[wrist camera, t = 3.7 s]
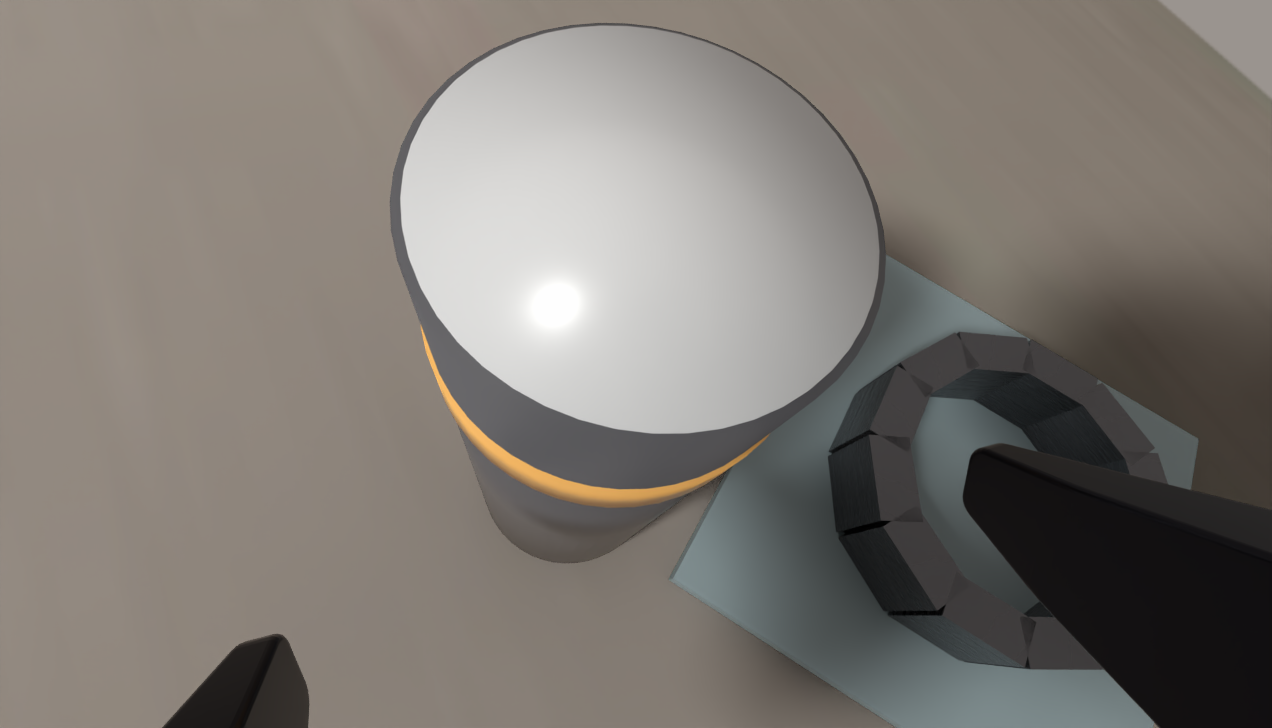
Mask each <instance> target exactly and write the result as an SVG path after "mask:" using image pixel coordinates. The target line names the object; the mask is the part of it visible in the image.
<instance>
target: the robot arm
mask: <svg viewBox="0 0 1272 728" xmlns="http://www.w3.org/2000/svg"><path fill="white" fill-rule="evenodd" d="M962 498H963V503H964V507H965V509H966V510H967V512H968V514H969V515H970V516H971V518H972V519H973V520H974V521H975V522H976V524H977V525H978V526H979V527H980V529H981V530H982V531H983V532H984V534H985V535H986V536H987V537H988V539H989V540H990V541H991V542H992V544H993V545H994V546H995V547H996V548H997V550H998V551H999V552H1000V553H1001V555H1002V556H1003V557H1004V558H1005V560H1006V561H1007V562H1008V563H1009V565H1010V566H1011V567H1012V568H1013V570H1014V571H1015V572H1016V573H1017V575H1018V576H1019V577H1020V578H1021V579H1022V581H1023V582H1024V583H1025V584H1026V586H1027V587H1028V588H1029V589H1030V590H1031V592H1032V593H1033V594H1034V595H1035V596H1036V598H1037V599H1038V600H1039V601H1040V602H1041V603H1042V605H1043V606H1044V607H1045V608H1046V609H1047V610H1048V611H1049V612H1050V613H1051V614H1052V615H1053V617H1054V618H1055V619H1056V620H1057V621H1058V622H1059V623H1060V624H1061V625H1062V626H1063V627H1064V628H1065V629H1066V630H1067V631H1068V632H1069V633H1070V634H1071V635H1072V637H1073V638H1074V639H1075V640H1076V641H1077V642H1078V643H1079V644H1080V645H1081V646H1082V647H1083V648H1084V649H1085V650H1086V651H1087V652H1088V653H1089V654H1090V655H1091V657H1092V658H1093V659H1094V660H1095V661H1096V662H1097V663H1098V664H1099V665H1100V666H1101V667H1102V668H1103V669H1104V670H1105V671H1106V672H1107V673H1108V674H1109V675H1110V676H1111V678H1112V679H1113V680H1114V681H1115V682H1116V683H1117V684H1118V685H1119V686H1120V687H1121V688H1122V689H1123V690H1124V691H1125V692H1126V693H1127V694H1128V695H1129V696H1130V697H1131V699H1132V700H1133V701H1134V702H1135V703H1136V704H1137V705H1138V706H1139V707H1140V708H1141V709H1142V710H1143V711H1144V712H1145V713H1146V714H1147V715H1148V716H1149V717H1150V718H1151V720H1152V721H1153V722H1154V723H1155V724H1156V725H1157V726H1158V727H1159V728H1272V510H1269V509H1265V508H1261V507H1257V506H1253V505H1249V504H1245V503H1241V502H1237V501H1233V500H1229V499H1225V498H1221V497H1217V496H1213V495H1209V494H1205V493H1201V492H1197V491H1193V490H1189V489H1185V488H1181V487H1177V486H1173V485H1169V484H1165V483H1161V482H1157V481H1153V480H1149V479H1145V478H1141V477H1137V476H1133V475H1129V474H1125V473H1121V472H1117V471H1113V470H1109V469H1105V468H1101V467H1097V466H1093V465H1089V464H1086V463H1082V462H1078V461H1074V460H1070V459H1066V458H1062V457H1058V456H1054V455H1050V454H1046V453H1042V452H1038V451H1034V450H1030V449H1026V448H1022V447H1018V446H1014V445H1010V444H1005V443H997V444H993V445H989V446H985V447H981V448H978V449H976V450H975V451H974V452H973V453H972V454H971V456H970V459H969V464H968V469H967V474H966V479H965V484H964V489H963V496H962ZM308 719H309V694H308V689H307V685H306V682H305V680H304V677H303V675H302V673H301V670H300V668H299V665H298V663H297V661H296V658H295V656H294V654H293V651H292V649H291V647H290V644H289V642H288V640H287V639H286V638H285V637H284V636H283V635H281V634H272V635H269V636H265V637H261V638H257V639H254V640H250V641H246V642H243V643H241V644H239V645H238V646H236V647H235V648H234V649H233V650H232V651H231V652H230V653H229V654H228V655H227V656H226V657H225V659H224V660H223V661H222V662H221V663H220V664H219V665H218V666H217V667H216V669H215V670H214V671H213V672H212V673H211V674H210V675H209V676H208V677H207V679H206V680H205V681H204V682H203V683H202V684H201V685H200V686H199V687H198V688H197V690H196V691H195V692H194V693H193V694H192V695H191V696H190V697H189V698H188V700H187V701H186V702H185V703H184V704H183V705H182V706H181V707H180V708H179V710H178V711H177V712H176V713H175V714H174V715H173V716H172V717H171V718H170V720H169V721H168V722H167V723H166V724H165V725H164V726H163V727H162V728H308Z"/></svg>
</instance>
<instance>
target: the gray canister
mask: <svg viewBox="0 0 1272 728" xmlns="http://www.w3.org/2000/svg"><path fill="white" fill-rule="evenodd" d="M390 215H391V232H392V237H393V242H394V246H395V251H396V256H397V261H398V264H399V266H400V269H401V272H402V274H403V277H404V280H405V283H406V285H407V288H408V291H409V294H410V296H411V299H412V302H413V304H414V307H415V310H416V313H417V315H418V318H419V321H420V324H421V330H422V335H423V340H424V344H425V349H426V353H427V355H428V358H429V361H430V363H431V366H432V368H433V371H434V374H435V376H436V379H437V382H438V384H439V387H440V389H441V392H442V395H443V397H444V400H445V402H446V404H447V406H448V408H449V410H450V412H451V413H452V415H453V417H454V419H455V420H456V422H457V424H458V427H459V430H460V433H461V435H462V438H463V441H464V444H465V446H466V449H467V452H468V454H469V457H470V460H471V463H472V465H473V468H474V471H475V474H476V476H477V479H478V482H479V484H480V487H481V490H482V493H483V495H484V498H485V501H486V504H487V506H488V509H489V511H490V514H491V516H492V518H493V520H494V522H495V523H496V525H497V526H498V528H499V529H500V530H501V532H502V533H503V534H504V535H505V536H506V537H507V538H508V539H509V540H510V541H511V542H512V543H513V544H514V545H516V546H517V547H518V548H520V549H521V550H523V551H524V552H526V553H528V554H530V555H532V556H534V557H537V558H540V559H542V560H546V561H551V562H557V563H578V562H584V561H589V560H592V559H595V558H598V557H600V556H603V555H605V554H607V553H609V552H610V551H612V550H614V549H615V548H617V547H618V546H620V545H621V544H622V543H624V542H625V541H626V540H628V539H629V538H630V537H632V536H633V535H634V534H636V533H637V532H638V531H640V530H641V529H642V528H644V527H645V526H646V525H648V524H649V523H650V522H652V521H653V520H654V519H656V518H657V517H658V516H660V515H661V514H662V513H664V512H665V511H667V510H668V509H669V508H671V507H672V506H673V505H675V504H676V503H677V502H679V501H680V500H681V499H683V498H684V497H685V496H687V495H688V494H689V493H691V492H692V491H694V490H696V489H698V488H700V487H702V486H704V485H706V484H707V483H709V482H710V481H712V480H713V479H715V478H716V477H718V476H719V475H721V474H722V473H724V472H725V471H727V470H728V469H729V468H731V467H732V466H733V465H735V464H736V463H738V462H739V461H740V460H742V459H743V458H745V457H746V456H747V455H748V454H749V453H751V452H752V451H753V450H754V449H755V448H756V447H757V446H759V445H760V444H761V443H762V442H763V441H764V440H765V439H766V438H767V437H768V436H769V434H770V433H771V432H772V431H774V430H775V429H777V428H778V427H779V426H781V425H782V424H783V423H785V422H786V421H787V420H789V419H790V418H791V417H793V416H794V415H795V414H797V413H798V412H799V411H801V410H802V409H803V408H805V407H806V406H807V405H809V404H810V403H811V402H813V401H814V400H815V399H817V398H818V397H819V396H820V395H821V394H822V393H823V392H824V391H826V390H827V389H828V388H829V387H830V386H831V385H832V384H833V383H835V382H836V381H837V380H838V379H839V378H840V376H841V375H842V374H843V373H844V371H845V370H846V369H847V368H848V366H849V365H850V364H851V363H852V362H853V360H854V359H855V358H856V356H857V355H858V353H859V351H860V349H861V348H862V346H863V344H864V343H865V341H866V339H867V337H868V336H869V334H870V332H871V329H872V326H873V324H874V321H875V318H876V316H877V313H878V310H879V307H880V303H881V298H882V293H883V288H884V283H885V266H886V251H885V241H884V231H883V226H882V222H881V218H880V214H879V209H878V205H877V202H876V200H875V197H874V195H873V192H872V189H871V187H870V184H869V181H868V179H867V177H866V175H865V174H864V172H863V170H862V168H861V166H860V164H859V162H858V160H857V158H856V157H855V155H854V154H853V152H852V151H851V149H850V148H849V146H848V145H847V143H846V142H845V140H844V139H843V138H842V136H841V135H840V133H839V132H838V131H837V130H836V129H835V128H834V126H833V125H832V124H831V123H830V122H829V121H828V119H827V118H826V117H825V116H824V115H823V114H822V113H821V112H820V111H819V110H818V109H817V108H816V107H815V106H814V105H813V104H812V103H811V102H810V101H809V100H808V99H806V98H805V97H804V96H803V95H802V94H801V93H800V92H798V91H797V90H796V89H794V88H793V87H792V86H791V85H789V84H788V83H787V82H785V81H784V80H783V79H782V78H780V77H778V76H777V75H775V74H774V73H772V72H771V71H769V70H767V69H766V68H764V67H763V66H761V65H760V64H758V63H756V62H754V61H752V60H750V59H748V58H746V57H744V56H742V55H741V54H739V53H737V52H735V51H733V50H730V49H728V48H725V47H723V46H720V45H718V44H715V43H713V42H710V41H708V40H705V39H701V38H698V37H695V36H691V35H688V34H685V33H682V32H677V31H672V30H667V29H663V28H658V27H652V26H643V25H634V24H623V23H593V24H580V25H570V26H564V27H559V28H553V29H548V30H543V31H540V32H536V33H533V34H530V35H526V36H523V37H520V38H517V39H514V40H512V41H510V42H507V43H505V44H503V45H500V46H498V47H496V48H493V49H491V50H490V51H488V52H486V53H485V54H483V55H481V56H480V57H478V58H476V59H474V60H473V61H471V62H469V63H468V64H467V65H465V66H464V67H463V68H462V69H460V70H459V71H458V72H456V73H455V74H454V75H453V76H451V77H450V78H449V79H448V80H447V81H446V82H445V83H444V84H443V85H442V86H441V87H440V88H439V89H438V90H437V91H436V92H435V93H434V94H433V95H432V96H431V97H430V98H429V100H428V101H427V102H426V104H425V105H424V107H423V108H422V110H421V111H420V112H419V114H418V115H417V117H416V118H415V119H414V121H413V123H412V125H411V127H410V129H409V131H408V133H407V135H406V137H405V139H404V141H403V143H402V145H401V149H400V152H399V155H398V159H397V162H396V165H395V169H394V172H393V180H392V188H391V196H390Z"/></svg>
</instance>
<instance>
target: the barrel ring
mask: <svg viewBox="0 0 1272 728" xmlns="http://www.w3.org/2000/svg"><path fill="white" fill-rule="evenodd" d="M1097 382H1098V378H1096V377H1094V376H1093V375H1091V374H1089V373H1087V372H1086V371H1084V370H1082V369H1081V368H1079V367H1077V366H1076V365H1074V364H1072V363H1071V362H1069V361H1067V360H1065V359H1064V358H1062V357H1060V356H1059V355H1057V354H1055V353H1054V352H1052V351H1050V350H1049V349H1047V348H1045V347H1043V346H1042V345H1040V344H1038V343H1037V342H1035V341H1033V340H1030V341H1028V340H1027V338H1023V337H1012V336H1001V335H990V334H980V333H969V332H958V333H957V334H956V333H953V334H951V335H949V336H948V337H946V338H944V339H942V340H940V341H938V342H937V343H935V344H933V345H931V346H929V347H927V348H926V349H924V350H922V351H920V352H918V353H916V354H915V355H913V356H911V357H909V358H907V359H905V360H904V361H902V362H900V363H898V364H897V365H896V366H894V367H893V368H891V369H890V370H888V371H887V372H885V373H884V374H882V375H881V376H879V377H878V378H876V379H875V380H873V381H872V382H870V383H869V384H867V385H866V386H864V387H863V388H861V389H860V390H859V391H858V392H857V393H856V394H855V395H854V397H853V399H852V401H851V404H850V406H849V408H848V410H847V412H846V414H845V417H844V419H843V421H842V423H841V425H840V427H839V430H838V432H837V434H836V436H835V438H834V440H833V443H832V445H831V447H830V449H829V451H828V452H830V453H832V454H831V455H829V456H828V464H829V473H830V482H831V491H832V501H833V510H834V519H835V528H836V532H840V533H844V534H843V535H841V536H840V537H838V539H839V540H840V542H841V544H842V545H843V547H844V548H845V550H846V552H847V553H848V555H849V557H850V558H851V560H852V561H853V563H854V565H855V566H856V568H857V569H858V571H859V573H860V574H861V576H862V577H863V579H864V581H865V582H866V584H867V585H868V587H869V589H870V590H871V592H872V594H873V595H874V597H875V598H876V600H877V602H878V603H879V605H880V606H881V608H882V610H883V611H889V613H888V616H889V617H891V618H892V619H894V620H896V621H897V622H899V623H900V624H902V625H903V626H905V627H907V628H908V629H910V630H911V631H913V632H914V633H916V634H918V635H919V636H921V637H922V638H924V639H925V640H927V641H929V642H930V643H932V644H933V645H935V646H937V647H938V648H940V649H941V650H943V651H944V652H946V653H948V654H949V655H951V656H952V657H954V658H955V659H957V660H959V661H964V662H967V663H976V664H985V665H994V666H1003V667H1012V668H1022V669H1031V670H1104V669H1103V668H1102V667H1101V666H1100V665H1099V664H1098V663H1097V662H1096V661H1095V660H1094V659H1093V658H1092V657H1091V655H1090V654H1089V653H1088V652H1087V651H1086V650H1085V649H1084V648H1083V647H1082V646H1081V645H1080V644H1079V643H1078V642H1077V641H1076V640H1075V639H1074V638H1073V637H1072V635H1071V634H1070V633H1069V632H1068V631H1067V630H1066V629H1065V628H1064V627H1063V626H1062V625H1061V624H1060V623H1059V622H1058V621H1057V620H1056V619H1055V618H1054V617H1053V615H1052V614H1051V613H1050V612H1049V611H1048V610H1047V609H1046V608H1045V607H1044V606H1043V605H1042V603H1041V602H1040V601H1039V602H1038V603H1037V604H1035V605H1034V606H1033V607H1032V608H1030V609H1029V610H1028V611H1027V612H1025V613H1024V614H1023V613H1021V612H1020V611H1018V610H1016V609H1015V608H1013V607H1012V606H1010V605H1008V604H1007V603H1005V602H1004V601H1002V600H1000V599H999V598H997V597H996V596H994V595H992V594H991V593H989V592H988V591H986V590H984V589H983V588H981V587H980V586H978V585H976V584H975V583H973V582H972V581H970V580H968V579H967V578H965V577H964V575H963V574H962V572H961V571H960V569H959V568H958V566H957V565H956V563H955V562H954V560H953V559H952V557H951V556H950V554H949V553H948V551H947V550H946V548H945V547H944V545H943V544H942V543H941V541H940V540H939V538H938V537H937V535H936V534H935V532H934V531H933V529H932V528H931V526H930V525H929V523H928V522H927V520H926V519H925V517H924V516H923V514H922V511H921V505H920V499H919V493H918V487H917V481H916V475H915V469H914V463H913V456H912V450H911V444H912V441H913V439H914V436H915V433H916V431H917V428H918V426H919V423H920V421H921V418H922V416H923V413H924V411H925V408H926V406H927V403H928V401H929V398H930V397H939V398H952V399H966V400H974V401H976V402H977V403H979V404H981V405H982V406H984V407H986V408H987V409H989V410H991V411H992V412H994V413H996V414H997V415H999V416H1001V417H1002V418H1004V419H1006V420H1007V421H1009V422H1011V423H1012V424H1014V425H1016V426H1017V427H1019V428H1021V429H1022V431H1023V432H1024V433H1025V435H1026V436H1027V437H1028V439H1029V440H1030V441H1031V443H1032V444H1033V445H1034V447H1035V448H1036V449H1037V451H1038V452H1042V453H1046V454H1050V455H1054V456H1058V457H1062V458H1066V459H1070V460H1074V461H1078V462H1082V463H1086V464H1089V465H1093V466H1097V467H1101V468H1105V469H1109V470H1113V471H1117V472H1121V473H1125V474H1129V475H1133V476H1137V477H1141V478H1145V479H1149V480H1153V481H1157V482H1161V483H1165V484H1168V482H1167V479H1166V476H1165V473H1164V470H1163V467H1162V464H1161V461H1160V458H1159V455H1158V453H1149V452H1151V451H1152V450H1153V449H1155V447H1154V446H1153V445H1152V443H1151V442H1150V441H1149V440H1148V438H1147V437H1146V436H1145V435H1144V434H1143V432H1142V431H1141V430H1140V429H1139V427H1138V426H1137V425H1136V424H1135V422H1134V421H1133V420H1132V419H1131V417H1130V416H1129V415H1128V414H1127V412H1126V411H1125V410H1124V409H1123V407H1122V406H1121V405H1120V404H1119V402H1118V401H1117V400H1116V399H1115V397H1114V396H1113V395H1112V394H1111V393H1110V391H1109V390H1108V389H1107V388H1106V386H1105V385H1104V384H1103V383H1100V384H1098V385H1097Z"/></svg>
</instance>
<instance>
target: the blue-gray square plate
mask: <svg viewBox="0 0 1272 728" xmlns="http://www.w3.org/2000/svg"><path fill="white" fill-rule="evenodd" d="M958 332H969V333H980V334H990V335H1001V336H1012V337H1023V338H1027V337H1025V336H1023V335H1022V334H1020V333H1018V332H1017V331H1015V330H1013V329H1012V328H1010V327H1008V326H1006V325H1005V324H1003V323H1001V322H1000V321H998V320H996V319H995V318H993V317H991V316H990V315H988V314H986V313H984V312H983V311H981V310H979V309H978V308H976V307H974V306H973V305H971V304H969V303H968V302H966V301H964V300H962V299H961V298H959V297H957V296H956V295H954V294H952V293H951V292H949V291H947V290H946V289H944V288H942V287H940V286H939V285H937V284H935V283H934V282H932V281H930V280H929V279H927V278H925V277H924V276H922V275H920V274H918V273H917V272H915V271H913V270H912V269H910V268H908V267H907V266H905V265H903V264H902V263H900V262H898V261H896V260H895V259H893V258H891V257H890V256H888V255H886V266H885V283H884V288H883V293H882V298H881V303H880V307H879V310H878V313H877V316H876V318H875V321H874V324H873V326H872V329H871V332H870V334H869V336H868V337H867V339H866V341H865V343H864V344H863V346H862V348H861V349H860V351H859V353H858V355H857V356H856V358H855V359H854V360H853V362H852V363H851V364H850V365H849V366H848V368H847V369H846V370H845V371H844V373H843V374H842V375H841V376H840V378H839V379H838V380H837V381H836V382H835V383H833V384H832V385H831V386H830V387H829V388H828V389H827V390H826V391H824V392H823V393H822V394H821V395H820V396H819V397H818V398H817V399H815V400H814V401H813V402H811V403H810V404H809V405H807V406H806V407H805V408H803V409H802V410H801V411H799V412H798V413H797V414H795V415H794V416H793V417H791V418H790V419H789V420H787V421H786V422H785V423H783V424H782V425H781V426H779V427H778V428H777V429H775V430H774V431H772V432H771V433H770V434H769V436H768V437H767V438H766V439H765V440H764V441H763V442H762V443H761V444H760V445H759V446H757V447H756V448H755V449H754V450H753V451H752V452H751V453H749V454H748V455H747V456H746V457H745V458H743V459H742V460H740V461H739V462H738V463H736V464H735V465H733V466H732V467H731V468H729V469H728V470H727V471H726V473H725V475H724V477H723V479H722V480H721V482H720V484H719V486H718V488H717V490H716V492H715V493H714V495H713V497H712V499H711V501H710V503H709V505H708V507H707V508H706V510H705V512H704V514H703V516H702V518H701V520H700V522H699V523H698V525H697V527H696V529H695V531H694V533H693V535H692V536H691V538H690V540H689V542H688V544H687V546H686V548H685V550H684V551H683V553H682V555H681V557H680V559H679V561H678V563H677V565H676V566H675V568H674V570H673V572H672V574H671V576H670V578H669V579H668V580H670V581H671V582H673V583H674V584H676V585H677V586H679V587H680V588H682V589H684V590H685V591H687V592H688V593H690V594H691V595H693V596H694V597H696V598H697V599H699V600H701V601H702V602H704V603H705V604H707V605H708V606H710V607H711V608H713V609H714V610H716V611H717V612H719V613H721V614H722V615H724V616H725V617H727V618H728V619H730V620H731V621H733V622H734V623H736V624H738V625H739V626H741V627H742V628H744V629H745V630H747V631H748V632H750V633H751V634H753V635H754V636H756V637H758V638H759V639H761V640H762V641H764V642H765V643H767V644H768V645H770V646H771V647H773V648H774V649H776V650H778V651H779V652H781V653H782V654H784V655H785V656H787V657H788V658H790V659H791V660H793V661H795V662H796V663H798V664H799V665H801V666H802V667H804V668H805V669H807V670H808V671H810V672H811V673H813V674H815V675H816V676H818V677H819V678H821V679H822V680H824V681H825V682H827V683H828V684H830V685H832V686H833V687H835V688H836V689H838V690H839V691H841V692H842V693H844V694H845V695H847V696H848V697H850V698H852V699H853V700H855V701H856V702H858V703H859V704H861V705H862V706H864V707H865V708H867V709H869V710H870V711H872V712H873V713H875V714H876V715H878V716H879V717H881V718H882V719H884V720H885V721H887V722H889V723H890V724H892V725H893V726H895V727H896V728H1153V725H1154V722H1153V721H1152V720H1151V718H1150V717H1149V716H1148V715H1147V714H1146V713H1145V712H1144V711H1143V710H1142V709H1141V708H1140V707H1139V706H1138V705H1137V704H1136V703H1135V702H1134V701H1133V700H1132V699H1131V697H1130V696H1129V695H1128V694H1127V693H1126V692H1125V691H1124V690H1123V689H1122V688H1121V687H1120V686H1119V685H1118V684H1117V683H1116V682H1115V681H1114V680H1113V679H1112V678H1111V676H1110V675H1109V674H1108V673H1107V672H1106V671H1105V670H1031V669H1022V668H1012V667H1003V666H994V665H985V664H976V663H967V662H964V661H959V660H957V659H955V658H954V657H952V656H951V655H949V654H948V653H946V652H944V651H943V650H941V649H940V648H938V647H937V646H935V645H933V644H932V643H930V642H929V641H927V640H925V639H924V638H922V637H921V636H919V635H918V634H916V633H914V632H913V631H911V630H910V629H908V628H907V627H905V626H903V625H902V624H900V623H899V622H897V621H896V620H894V619H892V618H891V617H889V616H888V613H889V611H883V610H882V608H881V606H880V605H879V603H878V602H877V600H876V598H875V597H874V595H873V594H872V592H871V590H870V589H869V587H868V585H867V584H866V582H865V581H864V579H863V577H862V576H861V574H860V573H859V571H858V569H857V568H856V566H855V565H854V563H853V561H852V560H851V558H850V557H849V555H848V553H847V552H846V550H845V548H844V547H843V545H842V544H841V542H840V540H839V539H838V537H840V536H841V535H843V534H844V533H840V532H836V528H835V519H834V510H833V501H832V491H831V482H830V473H829V464H828V456H829V455H831V454H832V453H830V452H828V451H829V449H830V447H831V445H832V443H833V440H834V438H835V436H836V434H837V432H838V430H839V427H840V425H841V423H842V421H843V419H844V417H845V414H846V412H847V410H848V408H849V406H850V404H851V401H852V399H853V397H854V395H855V394H856V393H857V392H858V391H859V390H860V389H861V388H863V387H864V386H866V385H867V384H869V383H870V382H872V381H873V380H875V379H876V378H878V377H879V376H881V375H882V374H884V373H885V372H887V371H888V370H890V369H891V368H893V367H894V366H896V365H897V364H898V363H900V362H902V361H904V360H905V359H907V358H909V357H911V356H913V355H915V354H916V353H918V352H920V351H922V350H924V349H926V348H927V347H929V346H931V345H933V344H935V343H937V342H938V341H940V340H942V339H944V338H946V337H948V336H949V335H951V334H953V333H956V334H957V333H958ZM1027 340H1028V341H1030V339H1029V338H1027ZM1100 383H1103V382H1101V381H1100V380H1098V382H1097V385H1098V384H1100ZM1103 384H1104V385H1105V386H1106V388H1107V389H1108V390H1109V391H1110V393H1111V394H1112V395H1113V396H1114V397H1115V399H1116V400H1117V401H1118V402H1119V404H1120V405H1121V406H1122V407H1123V409H1124V410H1125V411H1126V412H1127V414H1128V415H1129V416H1130V417H1131V419H1132V420H1133V421H1134V422H1135V424H1136V425H1137V426H1138V427H1139V429H1140V430H1141V431H1142V432H1143V434H1144V435H1145V436H1146V437H1147V438H1148V440H1149V441H1150V442H1151V443H1152V445H1153V446H1154V447H1155V449H1153V450H1152V451H1151V452H1149V453H1158V455H1159V458H1160V461H1161V464H1162V467H1163V470H1164V473H1165V476H1166V479H1167V482H1168V484H1169V485H1173V486H1177V487H1181V488H1185V489H1189V490H1191V485H1192V479H1193V473H1194V466H1195V460H1196V454H1197V447H1198V441H1199V439H1198V438H1196V437H1194V436H1193V435H1191V434H1189V433H1188V432H1186V431H1184V430H1183V429H1181V428H1179V427H1178V426H1176V425H1174V424H1172V423H1171V422H1169V421H1167V420H1166V419H1164V418H1162V417H1161V416H1159V415H1157V414H1156V413H1154V412H1152V411H1150V410H1149V409H1147V408H1145V407H1144V406H1142V405H1140V404H1139V403H1137V402H1135V401H1134V400H1132V399H1130V398H1128V397H1127V396H1125V395H1123V394H1122V393H1120V392H1118V391H1117V390H1115V389H1113V388H1111V387H1110V386H1108V385H1106V384H1105V383H1103ZM997 443H1005V444H1010V445H1014V446H1018V447H1022V448H1026V449H1030V450H1034V451H1037V449H1036V448H1035V447H1034V445H1033V444H1032V443H1031V441H1030V440H1029V439H1028V437H1027V436H1026V435H1025V433H1024V432H1023V431H1022V429H1021V428H1019V427H1017V426H1016V425H1014V424H1012V423H1011V422H1009V421H1007V420H1006V419H1004V418H1002V417H1001V416H999V415H997V414H996V413H994V412H992V411H991V410H989V409H987V408H986V407H984V406H982V405H981V404H979V403H977V402H976V401H974V400H966V399H952V398H939V397H930V398H929V401H928V403H927V406H926V408H925V411H924V413H923V416H922V418H921V421H920V423H919V426H918V428H917V431H916V433H915V436H914V439H913V441H912V444H911V450H912V456H913V463H914V469H915V475H916V481H917V487H918V493H919V499H920V505H921V511H922V514H923V516H924V517H925V519H926V520H927V522H928V523H929V525H930V526H931V528H932V529H933V531H934V532H935V534H936V535H937V537H938V538H939V540H940V541H941V543H942V544H943V545H944V547H945V548H946V550H947V551H948V553H949V554H950V556H951V557H952V559H953V560H954V562H955V563H956V565H957V566H958V568H959V569H960V571H961V572H962V574H963V575H964V577H965V578H967V579H968V580H970V581H972V582H973V583H975V584H976V585H978V586H980V587H981V588H983V589H984V590H986V591H988V592H989V593H991V594H992V595H994V596H996V597H997V598H999V599H1000V600H1002V601H1004V602H1005V603H1007V604H1008V605H1010V606H1012V607H1013V608H1015V609H1016V610H1018V611H1020V612H1021V613H1023V614H1024V613H1025V612H1027V611H1028V610H1029V609H1030V608H1032V607H1033V606H1034V605H1035V604H1037V603H1038V602H1039V600H1038V599H1037V598H1036V596H1035V595H1034V594H1033V593H1032V592H1031V590H1030V589H1029V588H1028V587H1027V586H1026V584H1025V583H1024V582H1023V581H1022V579H1021V578H1020V577H1019V576H1018V575H1017V573H1016V572H1015V571H1014V570H1013V568H1012V567H1011V566H1010V565H1009V563H1008V562H1007V561H1006V560H1005V558H1004V557H1003V556H1002V555H1001V553H1000V552H999V551H998V550H997V548H996V547H995V546H994V545H993V544H992V542H991V541H990V540H989V539H988V537H987V536H986V535H985V534H984V532H983V531H982V530H981V529H980V527H979V526H978V525H977V524H976V522H975V521H974V520H973V519H972V518H971V516H970V515H969V514H968V512H967V510H966V509H965V507H964V503H963V498H962V496H963V489H964V484H965V479H966V474H967V469H968V464H969V459H970V456H971V454H972V453H973V452H974V451H975V450H976V449H978V448H981V447H985V446H989V445H993V444H997Z"/></svg>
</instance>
